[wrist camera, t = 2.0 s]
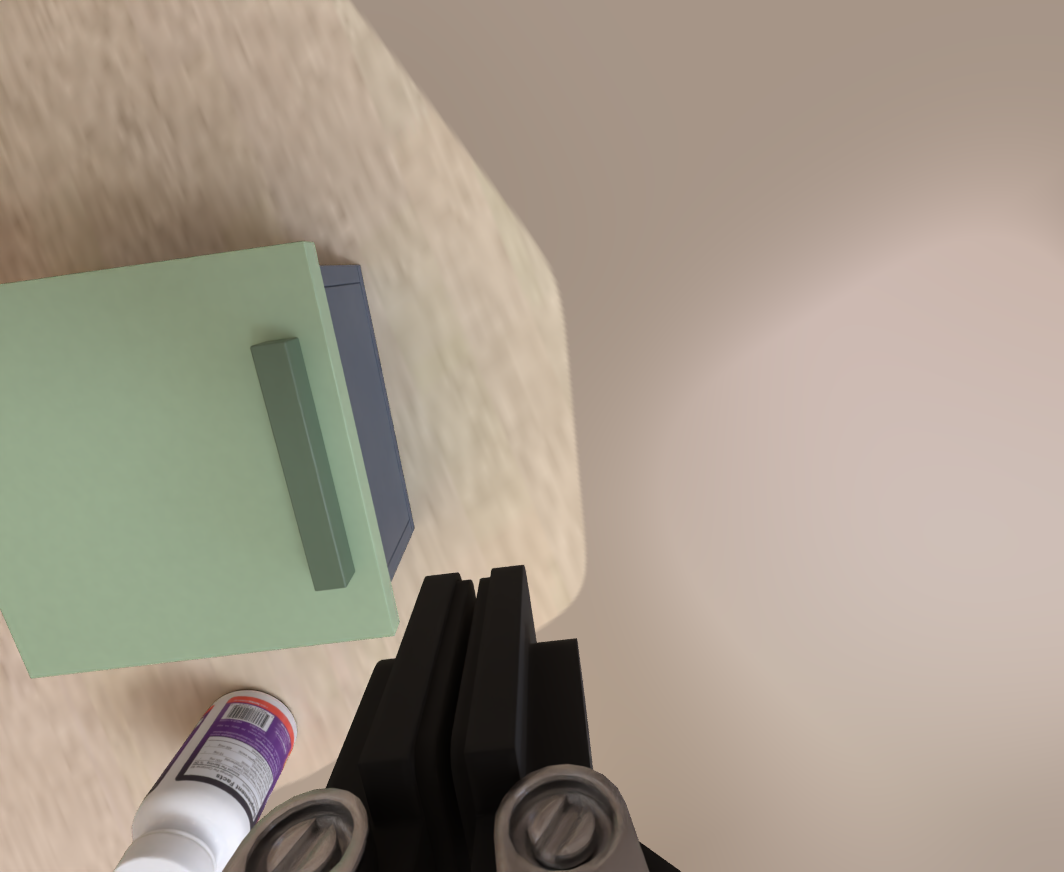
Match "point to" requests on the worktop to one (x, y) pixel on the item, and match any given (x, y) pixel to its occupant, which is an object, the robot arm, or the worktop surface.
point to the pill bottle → (213, 787)
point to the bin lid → (181, 466)
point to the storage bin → (369, 407)
